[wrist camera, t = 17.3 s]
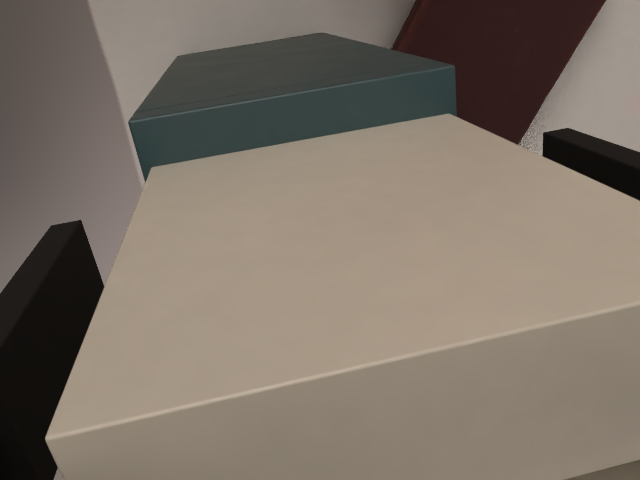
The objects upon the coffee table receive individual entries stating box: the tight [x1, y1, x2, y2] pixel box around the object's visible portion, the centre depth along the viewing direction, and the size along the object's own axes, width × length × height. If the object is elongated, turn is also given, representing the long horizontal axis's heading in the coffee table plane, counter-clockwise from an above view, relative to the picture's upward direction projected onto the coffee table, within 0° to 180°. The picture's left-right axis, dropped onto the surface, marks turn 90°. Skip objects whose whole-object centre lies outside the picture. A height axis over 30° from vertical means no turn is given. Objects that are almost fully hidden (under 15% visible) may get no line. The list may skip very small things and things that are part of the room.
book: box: [391, 0, 606, 145], centre depth 40 cm, size 12×19×3 cm, turn 153°
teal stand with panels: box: [129, 33, 640, 480], centre depth 25 cm, size 14×11×36 cm
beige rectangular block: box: [45, 114, 640, 480], centre depth 13 cm, size 3×10×12 cm, turn 98°
